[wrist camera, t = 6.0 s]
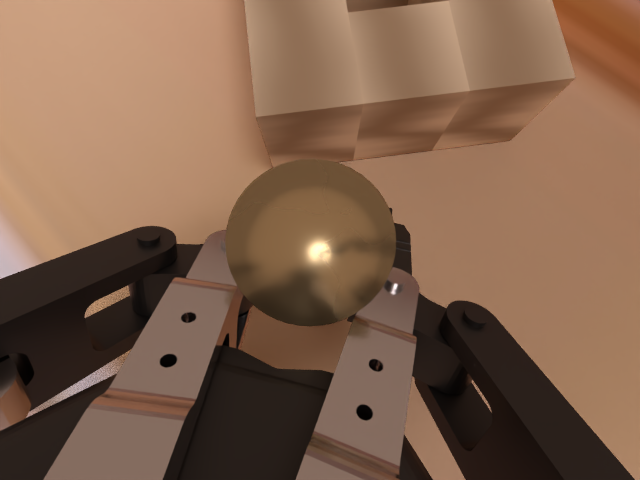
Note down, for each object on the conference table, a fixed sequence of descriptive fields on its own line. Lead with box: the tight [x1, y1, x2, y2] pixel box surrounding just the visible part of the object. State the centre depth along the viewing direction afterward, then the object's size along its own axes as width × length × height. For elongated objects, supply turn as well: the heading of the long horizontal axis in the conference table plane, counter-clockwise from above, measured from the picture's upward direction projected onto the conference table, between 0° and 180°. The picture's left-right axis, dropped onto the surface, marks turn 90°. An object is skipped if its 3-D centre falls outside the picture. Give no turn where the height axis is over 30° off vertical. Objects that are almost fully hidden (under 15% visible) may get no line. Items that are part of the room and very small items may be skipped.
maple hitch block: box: [244, 0, 576, 168], centre depth 17 cm, size 12×12×5 cm
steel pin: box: [225, 159, 396, 326], centre depth 12 cm, size 3×3×10 cm
